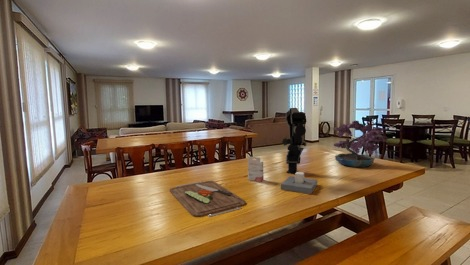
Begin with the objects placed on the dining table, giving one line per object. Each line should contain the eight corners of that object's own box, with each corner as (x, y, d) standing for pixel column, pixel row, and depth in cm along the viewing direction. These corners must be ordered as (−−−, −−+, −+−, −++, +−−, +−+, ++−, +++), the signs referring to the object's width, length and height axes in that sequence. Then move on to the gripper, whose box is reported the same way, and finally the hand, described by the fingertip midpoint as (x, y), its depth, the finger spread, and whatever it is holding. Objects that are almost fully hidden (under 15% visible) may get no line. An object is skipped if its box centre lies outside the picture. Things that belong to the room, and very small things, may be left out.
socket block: (289, 181, 151) (289, 176, 150) (317, 184, 143) (317, 179, 143) (280, 189, 137) (280, 183, 137) (310, 194, 129) (311, 188, 129)
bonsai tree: (325, 162, 194) (327, 120, 190) (349, 158, 206) (351, 118, 202) (367, 173, 163) (370, 123, 159) (393, 167, 175) (396, 121, 171)
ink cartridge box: (263, 179, 154) (263, 156, 152) (260, 182, 150) (260, 157, 148) (251, 177, 158) (250, 154, 156) (247, 180, 154) (247, 156, 152)
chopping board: (166, 189, 141) (166, 184, 141) (210, 181, 155) (210, 176, 154) (196, 221, 103) (196, 214, 102) (251, 207, 116) (251, 200, 116)
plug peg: (296, 185, 143) (297, 171, 142) (303, 186, 141) (304, 172, 140) (294, 187, 139) (295, 173, 138) (302, 188, 137) (302, 174, 136)
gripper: (288, 131, 158) (288, 155, 160) (278, 134, 142) (278, 162, 144) (306, 132, 153) (306, 157, 155) (298, 135, 137) (298, 164, 138)
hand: (297, 160), depth 148 cm, fingers closed
